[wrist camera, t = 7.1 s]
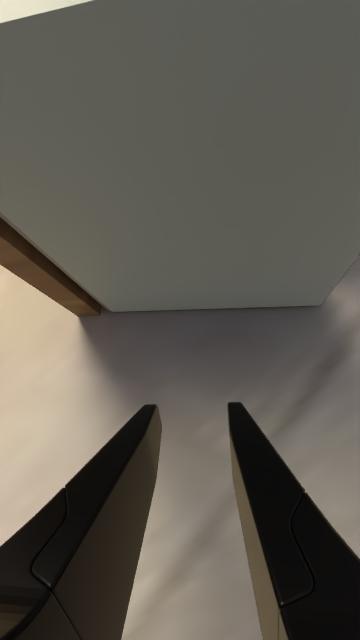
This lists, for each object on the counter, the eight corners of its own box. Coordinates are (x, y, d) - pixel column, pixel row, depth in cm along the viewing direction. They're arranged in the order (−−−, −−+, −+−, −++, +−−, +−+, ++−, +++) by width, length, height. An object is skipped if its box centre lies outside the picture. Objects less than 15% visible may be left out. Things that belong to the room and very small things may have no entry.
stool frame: (352, 296, 15) (795, -158, 3) (77, 316, 18) (-239, 105, 6) (322, 165, 18) (489, -312, 6) (92, 198, 21) (-94, -95, 9)
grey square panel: (320, 305, 15) (661, -139, 3) (101, 312, 17) (-195, 70, 5) (317, 280, 16) (601, -186, 4) (104, 290, 18) (-160, 23, 6)
